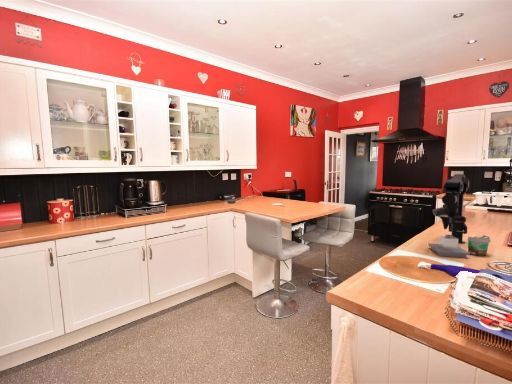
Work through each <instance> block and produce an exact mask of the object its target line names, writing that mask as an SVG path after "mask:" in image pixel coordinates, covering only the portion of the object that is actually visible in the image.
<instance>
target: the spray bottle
mask: <svg viewBox="0 0 512 384" xmlns="http://www.w3.org/2000/svg"><path fill="white" fill-rule="evenodd" d="M420 267H421V268H423V269H428V270H436V269H437V270H436V271H442V272H444V273H446V272H447V273H446V274H448V275H449V274H450V275H449V276H451V275H452V276H451V277H453V276H456V275H457V274H458V273H459V272H460V271H468V272H472V273H479V272H480V271H481V270H480V269H475V268H471V267H464V266H459V265H453V264H439V263H438V264H436V263H429V262H425V261H420V262H418V264H417V268H418V269H421V268H420ZM428 267H429V268H428Z"/></svg>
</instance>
